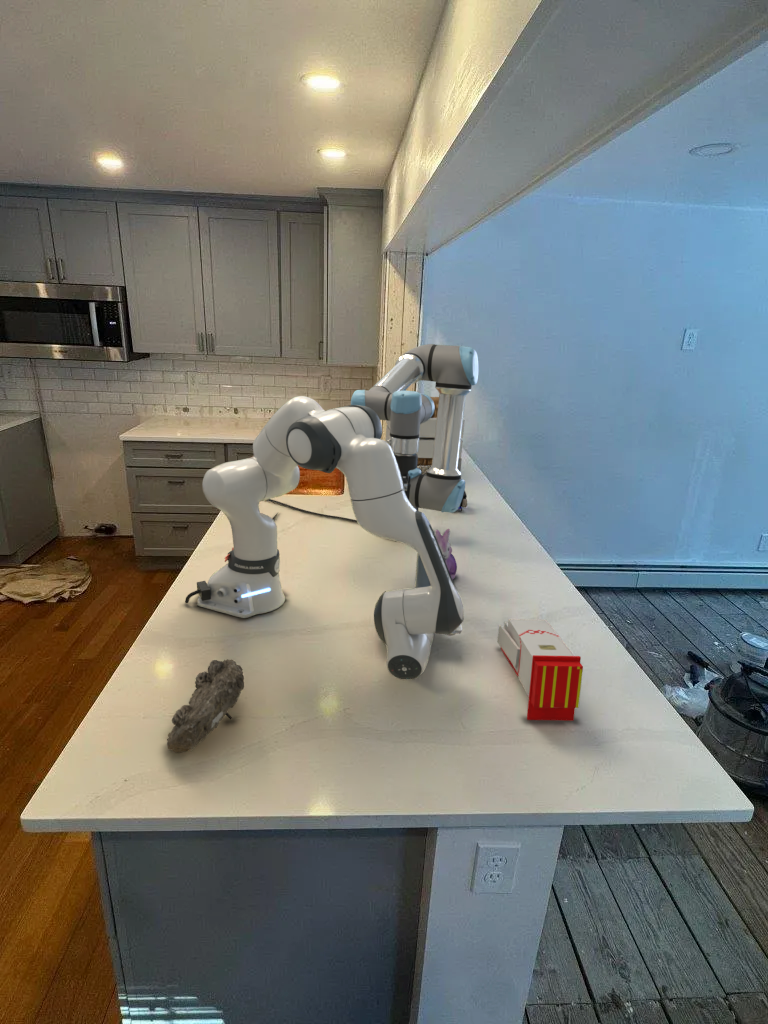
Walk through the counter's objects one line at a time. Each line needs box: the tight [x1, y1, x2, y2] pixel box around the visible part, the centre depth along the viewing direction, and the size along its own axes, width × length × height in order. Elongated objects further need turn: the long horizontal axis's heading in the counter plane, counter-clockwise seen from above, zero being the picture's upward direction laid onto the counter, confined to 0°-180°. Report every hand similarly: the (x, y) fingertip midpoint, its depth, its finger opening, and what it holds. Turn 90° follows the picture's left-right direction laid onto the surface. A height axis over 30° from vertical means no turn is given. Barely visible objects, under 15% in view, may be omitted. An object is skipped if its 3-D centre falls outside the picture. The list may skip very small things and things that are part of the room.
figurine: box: [434, 528, 458, 581], centre depth 166 cm, size 9×10×15 cm
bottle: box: [414, 532, 435, 588], centre depth 139 cm, size 5×5×25 cm
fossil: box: [166, 658, 245, 754], centre depth 106 cm, size 22×10×15 cm
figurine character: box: [457, 489, 468, 512], centre depth 228 cm, size 7×8×15 cm
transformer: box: [384, 396, 465, 472], centre depth 268 cm, size 34×33×41 cm
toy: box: [497, 618, 584, 722], centre depth 122 cm, size 12×13×30 cm
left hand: (423, 600), depth 142 cm, fingers closed on bottle, 4 cm apart
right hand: (398, 537), depth 153 cm, fingers closed on cap, 4 cm apart
